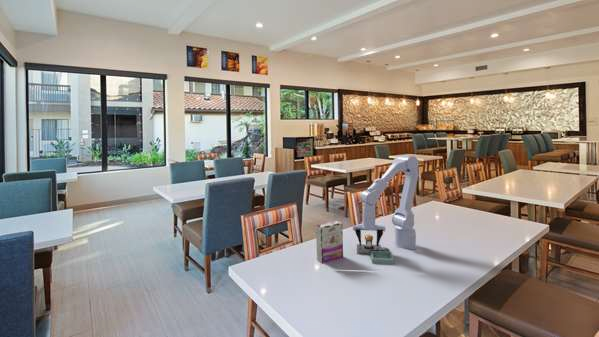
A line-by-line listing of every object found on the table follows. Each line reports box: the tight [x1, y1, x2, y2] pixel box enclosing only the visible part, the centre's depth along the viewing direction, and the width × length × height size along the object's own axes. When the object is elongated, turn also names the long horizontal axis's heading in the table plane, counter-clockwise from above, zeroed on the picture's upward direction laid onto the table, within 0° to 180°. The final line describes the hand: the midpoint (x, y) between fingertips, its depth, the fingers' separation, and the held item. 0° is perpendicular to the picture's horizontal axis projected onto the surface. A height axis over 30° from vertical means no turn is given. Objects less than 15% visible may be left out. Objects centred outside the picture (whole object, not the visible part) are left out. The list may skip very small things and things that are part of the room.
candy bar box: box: [315, 220, 344, 264], centre depth 142 cm, size 11×5×16 cm, turn 117°
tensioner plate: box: [356, 243, 391, 255], centre depth 149 cm, size 15×7×3 cm, turn 81°
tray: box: [370, 251, 395, 265], centre depth 140 cm, size 9×9×2 cm
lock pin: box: [364, 234, 374, 249], centre depth 149 cm, size 4×4×7 cm
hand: (368, 245), depth 149 cm, fingers open, 7 cm apart
